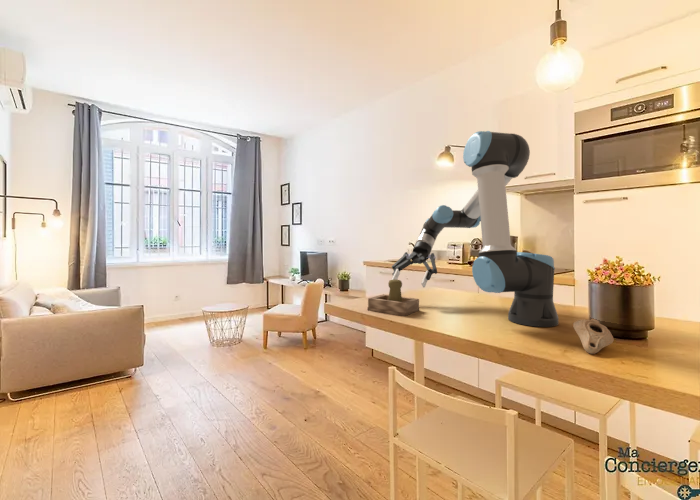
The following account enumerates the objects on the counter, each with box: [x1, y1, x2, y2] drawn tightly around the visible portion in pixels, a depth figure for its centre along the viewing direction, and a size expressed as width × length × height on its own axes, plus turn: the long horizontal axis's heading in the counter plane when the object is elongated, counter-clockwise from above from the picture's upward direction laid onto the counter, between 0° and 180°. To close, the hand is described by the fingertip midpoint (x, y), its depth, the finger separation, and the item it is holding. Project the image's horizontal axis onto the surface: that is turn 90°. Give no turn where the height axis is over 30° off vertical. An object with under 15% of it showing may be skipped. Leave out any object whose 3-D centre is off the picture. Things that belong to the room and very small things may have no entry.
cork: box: [388, 279, 403, 302], centre depth 134 cm, size 6×6×11 cm
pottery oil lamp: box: [572, 318, 614, 355], centre depth 91 cm, size 9×12×7 cm
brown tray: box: [367, 293, 420, 317], centre depth 135 cm, size 16×12×4 cm
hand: (407, 284), depth 144 cm, fingers open, 13 cm apart
